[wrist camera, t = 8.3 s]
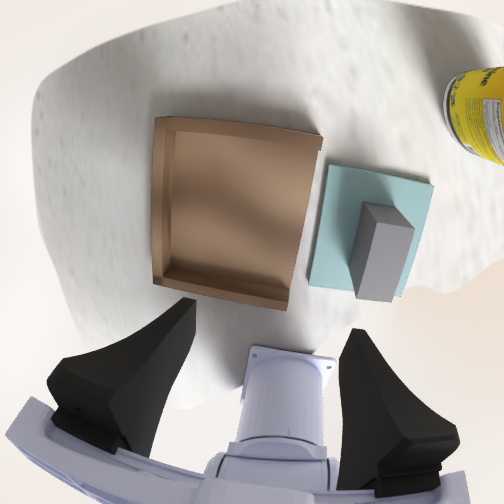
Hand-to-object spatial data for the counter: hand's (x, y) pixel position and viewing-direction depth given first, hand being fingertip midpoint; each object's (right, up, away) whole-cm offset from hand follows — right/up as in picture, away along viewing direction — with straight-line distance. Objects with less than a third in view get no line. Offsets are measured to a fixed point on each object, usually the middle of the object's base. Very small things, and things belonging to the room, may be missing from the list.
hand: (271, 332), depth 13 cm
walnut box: (-2, +7, +8) cm, 10 cm away
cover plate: (+8, +5, +7) cm, 12 cm away
